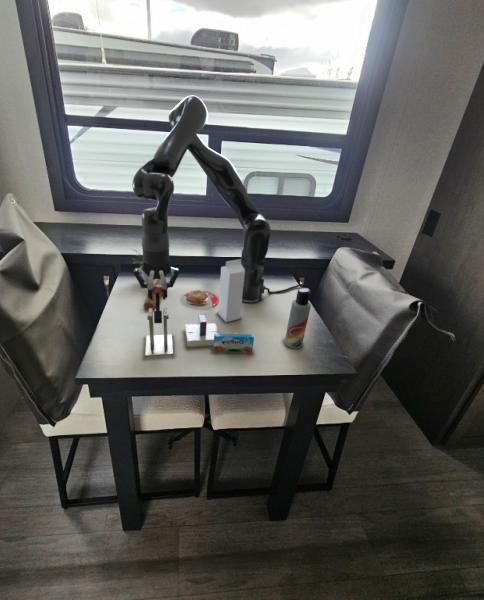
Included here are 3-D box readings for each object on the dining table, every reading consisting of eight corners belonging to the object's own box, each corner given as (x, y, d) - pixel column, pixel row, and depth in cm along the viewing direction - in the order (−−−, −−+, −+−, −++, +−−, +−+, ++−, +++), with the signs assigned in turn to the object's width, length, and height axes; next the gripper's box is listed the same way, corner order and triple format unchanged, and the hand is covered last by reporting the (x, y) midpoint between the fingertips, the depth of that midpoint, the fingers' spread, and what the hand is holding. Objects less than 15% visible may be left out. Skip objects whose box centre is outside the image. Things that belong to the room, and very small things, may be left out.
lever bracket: (146, 338, 100) (144, 303, 94) (171, 337, 102) (171, 302, 96) (145, 358, 92) (142, 321, 86) (173, 357, 93) (172, 320, 87)
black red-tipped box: (198, 327, 102) (198, 314, 100) (204, 327, 103) (204, 314, 100) (199, 335, 98) (200, 322, 96) (206, 335, 99) (206, 322, 96)
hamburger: (218, 309, 119) (219, 295, 116) (181, 308, 118) (181, 294, 115) (217, 292, 131) (217, 279, 129) (183, 291, 130) (183, 278, 127)
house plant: (125, 278, 137) (121, 242, 129) (154, 272, 145) (153, 237, 137) (138, 291, 127) (135, 253, 120) (169, 284, 135) (168, 247, 127)
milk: (240, 319, 114) (246, 262, 104) (225, 322, 112) (230, 265, 101) (231, 310, 119) (236, 256, 108) (217, 314, 116) (221, 258, 105)
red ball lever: (152, 289, 99) (152, 283, 97) (162, 289, 100) (162, 283, 97) (152, 324, 92) (152, 318, 89) (163, 323, 92) (163, 317, 90)
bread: (168, 289, 131) (167, 277, 128) (155, 313, 114) (154, 299, 111) (153, 288, 131) (152, 275, 128) (138, 311, 114) (137, 298, 111)
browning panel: (214, 330, 107) (215, 322, 105) (219, 346, 99) (219, 338, 98) (185, 332, 105) (185, 324, 103) (187, 348, 97) (187, 340, 96)
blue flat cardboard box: (213, 352, 96) (214, 336, 93) (213, 349, 98) (214, 333, 95) (251, 353, 97) (254, 337, 94) (251, 350, 98) (253, 334, 96)
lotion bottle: (298, 351, 100) (311, 295, 90) (281, 344, 102) (292, 289, 93) (304, 342, 104) (316, 288, 94) (288, 336, 107) (298, 283, 97)
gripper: (179, 242, 95) (179, 292, 103) (131, 241, 92) (135, 293, 101) (181, 250, 89) (181, 304, 97) (129, 250, 86) (133, 305, 94)
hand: (157, 298), depth 99 cm, fingers closed on red ball lever, 3 cm apart
